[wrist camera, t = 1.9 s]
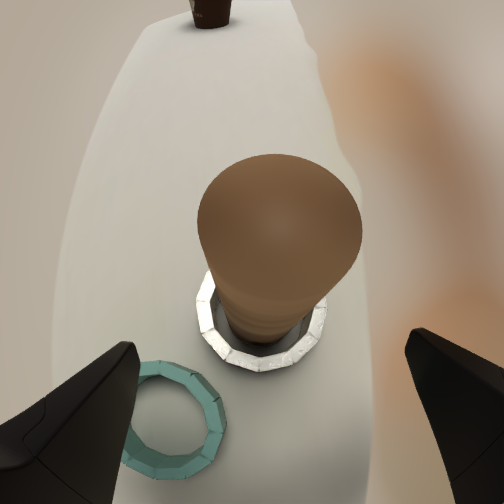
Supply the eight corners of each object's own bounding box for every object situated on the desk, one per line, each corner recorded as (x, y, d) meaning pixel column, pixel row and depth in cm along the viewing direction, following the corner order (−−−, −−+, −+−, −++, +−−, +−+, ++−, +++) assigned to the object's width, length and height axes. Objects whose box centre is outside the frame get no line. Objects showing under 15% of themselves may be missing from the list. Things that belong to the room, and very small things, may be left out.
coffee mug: (233, 29, 38) (232, -17, 29) (185, 32, 38) (180, -13, 29) (236, 13, 43) (236, -26, 34) (195, 15, 43) (192, -23, 34)
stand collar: (325, 355, 18) (339, 351, 15) (215, 379, 17) (209, 381, 15) (298, 254, 21) (306, 236, 18) (196, 273, 20) (189, 257, 18)
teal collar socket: (235, 459, 15) (234, 474, 12) (131, 465, 14) (114, 477, 11) (212, 356, 18) (206, 353, 15) (111, 368, 17) (90, 366, 14)
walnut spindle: (298, 338, 19) (384, 277, 7) (234, 352, 18) (211, 316, 6) (283, 279, 20) (330, 148, 8) (222, 290, 20) (190, 166, 8)
